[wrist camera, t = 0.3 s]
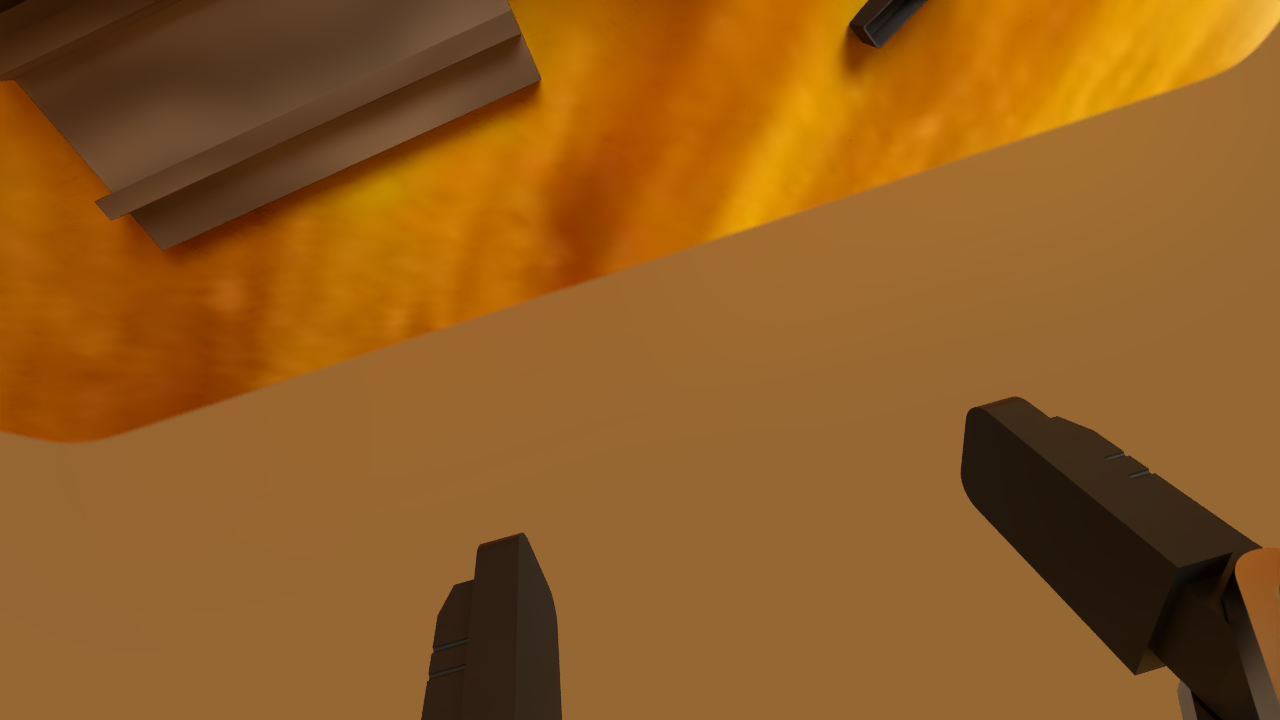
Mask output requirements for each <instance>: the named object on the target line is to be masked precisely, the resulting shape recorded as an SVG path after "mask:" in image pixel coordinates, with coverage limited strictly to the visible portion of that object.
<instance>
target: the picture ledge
mask: <svg viewBox="0 0 1280 720" xmlns="http://www.w3.org/2000/svg"><path fill="white" fill-rule="evenodd" d="M4 80H15V81H16V82H17V83H18V84H19V86H20V87H21V88H22V89H23V90H24V91H25V93H26V94H27V95H28V96H29V97H30V98H31V99H32V101H33V102H34V103H35V104H36V105H37V106H38V108H39V109H40V110H41V111H42V112H43V113H44V115H45V116H46V117H47V118H48V119H49V120H50V121H51V123H52V124H53V125H54V126H55V127H56V128H57V130H58V131H59V132H60V133H61V134H62V135H63V136H64V138H65V139H66V140H67V141H68V142H69V143H70V145H71V146H72V147H73V148H74V149H75V150H76V151H77V153H78V154H79V155H80V156H81V157H82V158H83V160H84V161H85V162H86V163H87V164H88V165H89V166H90V168H91V169H92V170H93V171H94V172H95V173H96V175H97V176H98V177H99V178H100V179H101V180H102V182H103V183H104V184H105V185H106V186H107V187H108V188H109V190H110V191H111V192H112V194H109V195H107V196H105V197H103V198H101V199H99V200H96V201H94V202H95V203H96V204H97V205H98V206H99V208H100V209H101V210H102V211H103V212H104V213H105V214H106V215H107V217H108V218H109V219H110V220H114V219H116V218H118V217H121V216H123V215H126V214H128V213H130V214H131V215H132V216H133V217H134V218H135V220H136V221H137V222H138V223H139V224H140V225H141V227H142V228H143V229H144V230H145V231H146V232H147V233H148V235H149V236H150V237H151V238H152V239H153V240H154V242H155V243H156V244H157V245H158V246H159V247H160V249H161V250H162V251H164V250H166V249H168V248H170V247H173V246H175V245H177V244H179V243H182V242H184V241H186V240H188V239H190V238H193V237H195V236H197V235H199V234H201V233H204V232H206V231H208V230H210V229H212V228H215V227H217V226H219V225H221V224H223V223H226V222H228V221H230V220H232V219H235V218H237V217H239V216H241V215H243V214H246V213H248V212H250V211H252V210H254V209H257V208H259V207H261V206H263V205H265V204H268V203H270V202H272V201H274V200H277V199H279V198H281V197H283V196H285V195H288V194H290V193H292V192H294V191H296V190H299V189H301V188H303V187H305V186H307V185H310V184H312V183H314V182H316V181H318V180H321V179H323V178H325V177H327V176H330V175H332V174H334V173H336V172H338V171H341V170H343V169H345V168H347V167H349V166H352V165H354V164H356V163H358V162H360V161H363V160H365V159H367V158H369V157H372V156H374V155H376V154H378V153H380V152H383V151H385V150H387V149H389V148H391V147H394V146H396V145H398V144H400V143H402V142H405V141H407V140H409V139H411V138H413V137H416V136H418V135H420V134H422V133H425V132H427V131H429V130H431V129H433V128H436V127H438V126H440V125H442V124H444V123H447V122H449V121H451V120H453V119H455V118H458V117H460V116H462V115H464V114H467V113H469V112H471V111H473V110H475V109H478V108H480V107H482V106H484V105H486V104H489V103H491V102H493V101H495V100H497V99H500V98H502V97H504V96H506V95H508V94H511V93H513V92H515V91H517V90H520V89H522V88H524V87H526V86H528V85H531V84H533V83H535V82H537V81H539V80H541V77H540V75H539V72H538V70H537V68H536V65H535V63H534V61H533V59H532V56H531V54H530V52H529V49H528V47H527V45H526V42H525V40H524V38H523V35H522V33H521V31H520V28H519V26H518V24H517V21H516V19H515V17H514V14H513V12H512V10H511V7H510V5H509V3H508V1H507V0H0V81H4Z"/></svg>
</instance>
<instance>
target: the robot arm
mask: <svg viewBox="0 0 1280 720" xmlns="http://www.w3.org/2000/svg"><path fill="white" fill-rule="evenodd" d="M961 479H962V483H963V487H964V489H965V492H966V494H967V496H968V497H969V499H970V501H971V502H972V504H973V505H974V506H975V507H976V508H977V509H978V511H979V512H980V513H981V514H982V515H983V516H985V518H986V519H987V520H988V521H989V522H990V523H991V524H992V525H993V526H994V527H995V528H996V529H997V530H998V532H999V533H1000V534H1001V535H1002V536H1003V537H1004V538H1005V539H1006V540H1007V541H1008V542H1009V543H1010V544H1011V545H1012V546H1013V547H1014V548H1015V549H1016V550H1017V552H1018V553H1019V554H1020V555H1021V556H1022V557H1023V558H1024V559H1025V560H1026V561H1027V562H1028V563H1029V564H1030V565H1031V566H1032V567H1033V568H1034V569H1035V570H1036V572H1037V573H1038V574H1039V575H1040V576H1041V577H1042V578H1043V579H1044V580H1045V581H1046V582H1047V583H1048V584H1049V585H1050V586H1051V587H1052V588H1053V589H1054V591H1055V592H1056V593H1057V594H1058V595H1059V596H1060V597H1061V598H1062V599H1063V600H1064V601H1065V602H1066V603H1067V604H1068V605H1069V606H1070V607H1071V608H1072V609H1073V611H1074V612H1075V613H1076V614H1077V615H1078V616H1079V617H1080V618H1081V619H1082V620H1083V621H1084V622H1085V623H1086V624H1087V625H1088V626H1089V627H1090V628H1091V630H1092V631H1093V632H1094V633H1096V635H1097V636H1098V637H1099V638H1100V639H1101V640H1102V641H1103V642H1104V643H1105V644H1106V645H1107V646H1108V647H1109V649H1111V651H1112V652H1113V653H1114V654H1115V655H1116V656H1117V657H1118V658H1119V659H1120V660H1121V661H1122V662H1123V663H1124V664H1125V665H1126V666H1127V667H1128V668H1129V670H1131V672H1132V673H1133V674H1134V675H1138V674H1141V673H1145V672H1148V671H1151V670H1154V669H1158V668H1161V667H1165V666H1167V667H1168V668H1169V669H1170V670H1171V671H1172V672H1173V673H1174V674H1175V675H1176V676H1177V677H1178V678H1179V679H1180V683H1179V685H1178V699H1179V704H1180V708H1181V712H1182V717H1183V720H1280V548H1262V547H1261V546H1259V545H1258V544H1256V543H1255V542H1253V541H1252V540H1250V539H1249V538H1247V537H1246V536H1244V535H1243V534H1241V533H1240V532H1238V531H1237V530H1236V529H1234V528H1233V527H1231V526H1230V525H1228V524H1227V523H1226V522H1224V521H1223V520H1221V519H1220V518H1218V517H1217V516H1216V515H1214V514H1213V513H1211V512H1210V511H1208V510H1207V509H1206V508H1204V507H1202V506H1201V505H1200V504H1198V503H1197V502H1196V501H1194V500H1193V499H1191V498H1190V497H1188V496H1187V495H1185V494H1184V493H1183V492H1181V491H1180V490H1178V489H1177V488H1175V487H1174V486H1173V485H1171V484H1170V483H1168V482H1167V481H1165V480H1164V479H1162V478H1161V477H1160V476H1158V475H1157V474H1155V473H1154V474H1151V473H1150V472H1149V469H1148V468H1147V467H1145V466H1144V465H1142V464H1141V463H1139V462H1138V461H1137V460H1135V459H1134V458H1132V457H1131V456H1125V455H1124V452H1123V451H1122V450H1121V449H1120V448H1118V447H1117V446H1115V445H1114V444H1112V443H1111V442H1109V441H1108V440H1107V439H1105V438H1104V437H1102V436H1101V435H1099V434H1098V433H1096V432H1095V431H1093V430H1091V429H1088V428H1086V427H1083V426H1081V425H1078V424H1075V423H1073V422H1071V421H1068V420H1066V419H1063V418H1061V417H1058V416H1056V417H1053V418H1049V417H1048V416H1047V415H1045V414H1044V413H1043V412H1041V411H1040V410H1039V409H1037V408H1036V407H1034V406H1033V405H1032V404H1030V403H1029V402H1028V401H1026V400H1024V399H1022V398H1020V397H1010V398H1007V399H1003V400H999V401H996V402H992V403H989V404H985V405H982V406H978V407H974V408H972V409H970V410H969V412H968V413H967V416H966V424H965V434H964V444H963V454H962V464H961ZM433 650H434V653H433V654H432V655H431V661H430V667H429V681H427V686H426V693H425V699H424V705H423V712H422V718H421V720H562V711H561V691H560V669H559V648H558V628H557V617H556V611H555V606H554V601H553V598H552V594H551V591H550V588H549V586H548V584H547V581H546V579H545V577H544V575H543V573H542V570H541V568H540V566H539V563H538V561H537V559H536V557H535V554H534V552H533V550H532V548H531V546H530V543H529V541H528V539H527V537H526V535H525V534H524V533H519V534H516V535H513V536H509V537H505V538H501V539H498V540H495V541H491V542H487V543H484V544H481V545H479V547H478V550H477V556H476V566H475V576H474V580H470V581H466V582H463V583H460V584H456V585H454V586H453V588H452V590H451V592H450V594H449V596H448V597H447V599H446V601H445V603H444V605H443V607H442V609H441V610H440V612H439V614H438V617H437V623H436V630H435V636H434V642H433Z"/></svg>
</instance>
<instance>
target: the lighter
mask: <svg viewBox="0 0 1280 720" xmlns="http://www.w3.org/2000/svg"><path fill="white" fill-rule="evenodd" d="M926 1H927V0H869V1H868V2H867V3H866V4H865V5H864V6H863V7H862V8H861V9H860V11H859V12H858V13H857V15H856V16H855V17H854V18H853V20H852V21H851V22H850V27H851V28H852V29H853V31H854V32H855V33H856V35H857V36H858V37H859V38H860V40H861V41H862V42H863V43H865V44H868V45H871V46H873V47H876V48H881V47H882V46H883V45H884V44H885V43H886V42H887V41H888V40H889V39H890V38H891V37H892V36H893V35H894V34H895V33H896V32H897V31H898V30H899V29H900V28H901V27H902V26H903V25H904V24H905V23H906V22H907V21H908V20H909V19H910V18H911V17H912V16H913V15H914V14H915V13H916V12H917V11H918V9H919V8H920V7H921V6H922V5H923V4H924V3H925V2H926Z"/></svg>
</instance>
